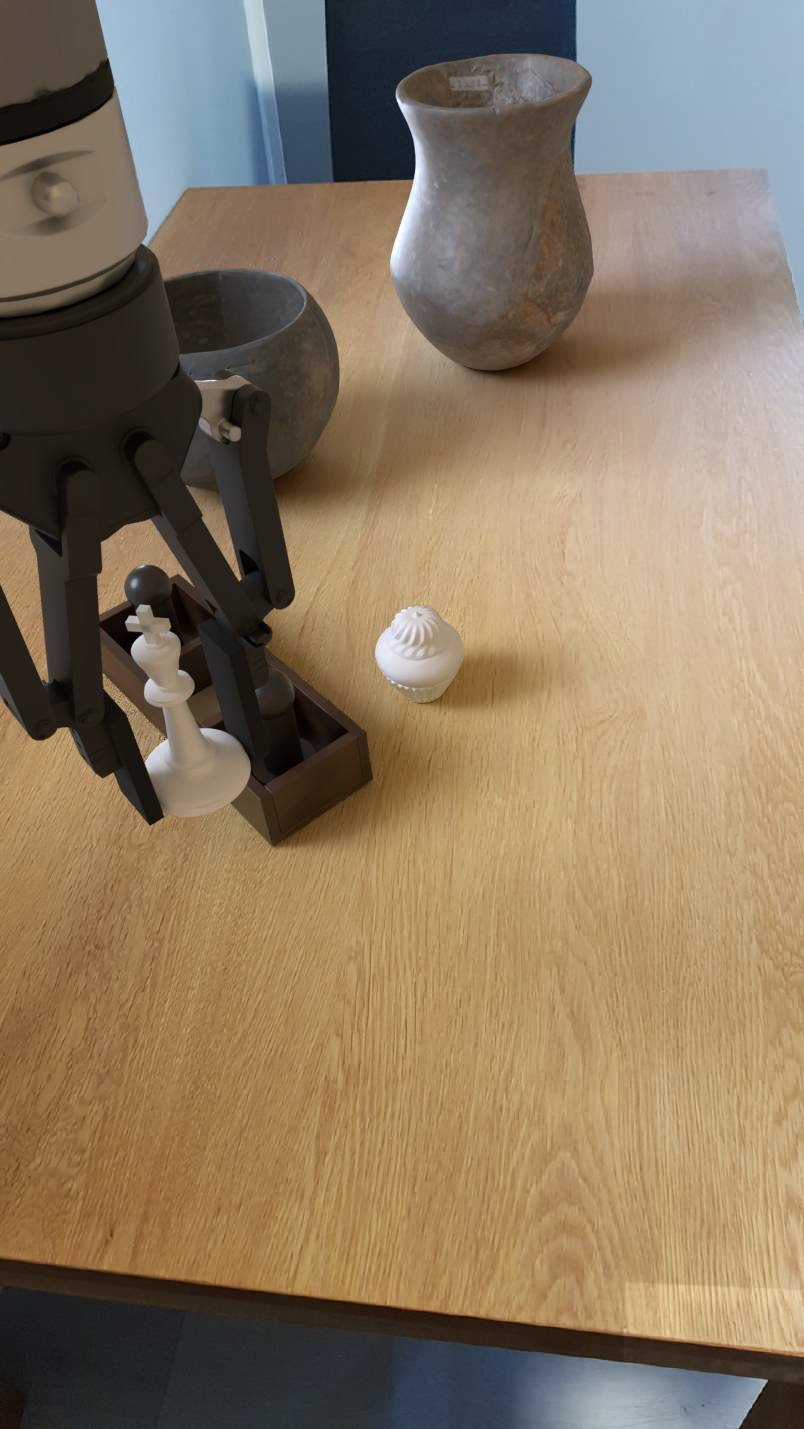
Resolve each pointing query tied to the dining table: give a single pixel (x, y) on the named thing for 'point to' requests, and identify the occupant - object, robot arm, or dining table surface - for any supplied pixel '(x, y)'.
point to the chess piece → (183, 730)
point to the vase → (493, 207)
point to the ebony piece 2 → (279, 729)
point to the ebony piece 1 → (154, 595)
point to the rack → (264, 807)
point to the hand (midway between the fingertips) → (196, 771)
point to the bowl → (257, 356)
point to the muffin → (420, 653)
